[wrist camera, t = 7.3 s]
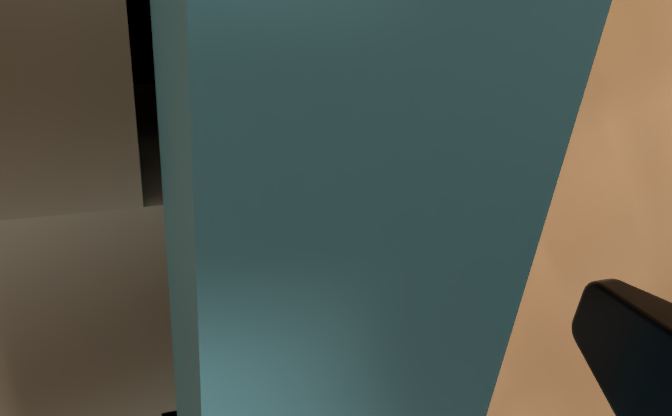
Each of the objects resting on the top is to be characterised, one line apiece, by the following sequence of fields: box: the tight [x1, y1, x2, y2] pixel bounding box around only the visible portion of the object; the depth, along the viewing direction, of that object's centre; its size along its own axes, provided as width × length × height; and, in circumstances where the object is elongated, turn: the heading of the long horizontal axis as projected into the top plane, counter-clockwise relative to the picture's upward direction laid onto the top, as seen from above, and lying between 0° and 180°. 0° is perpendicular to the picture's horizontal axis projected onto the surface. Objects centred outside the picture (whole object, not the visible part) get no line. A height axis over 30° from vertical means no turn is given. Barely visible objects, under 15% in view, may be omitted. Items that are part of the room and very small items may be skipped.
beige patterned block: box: [0, 0, 177, 416], centre depth 11 cm, size 18×8×4 cm, turn 174°
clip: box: [150, 0, 612, 416], centre depth 9 cm, size 13×3×6 cm, turn 174°
